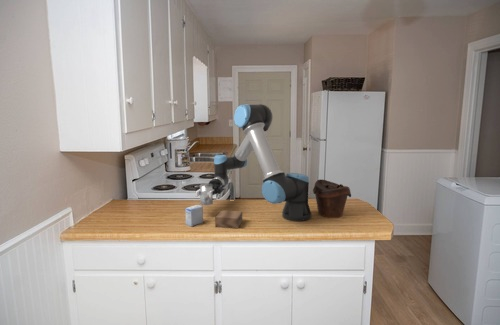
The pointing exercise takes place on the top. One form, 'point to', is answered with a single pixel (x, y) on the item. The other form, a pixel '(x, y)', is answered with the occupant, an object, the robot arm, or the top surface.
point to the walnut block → (228, 219)
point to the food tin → (205, 194)
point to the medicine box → (194, 215)
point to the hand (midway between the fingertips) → (203, 194)
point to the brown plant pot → (330, 198)
